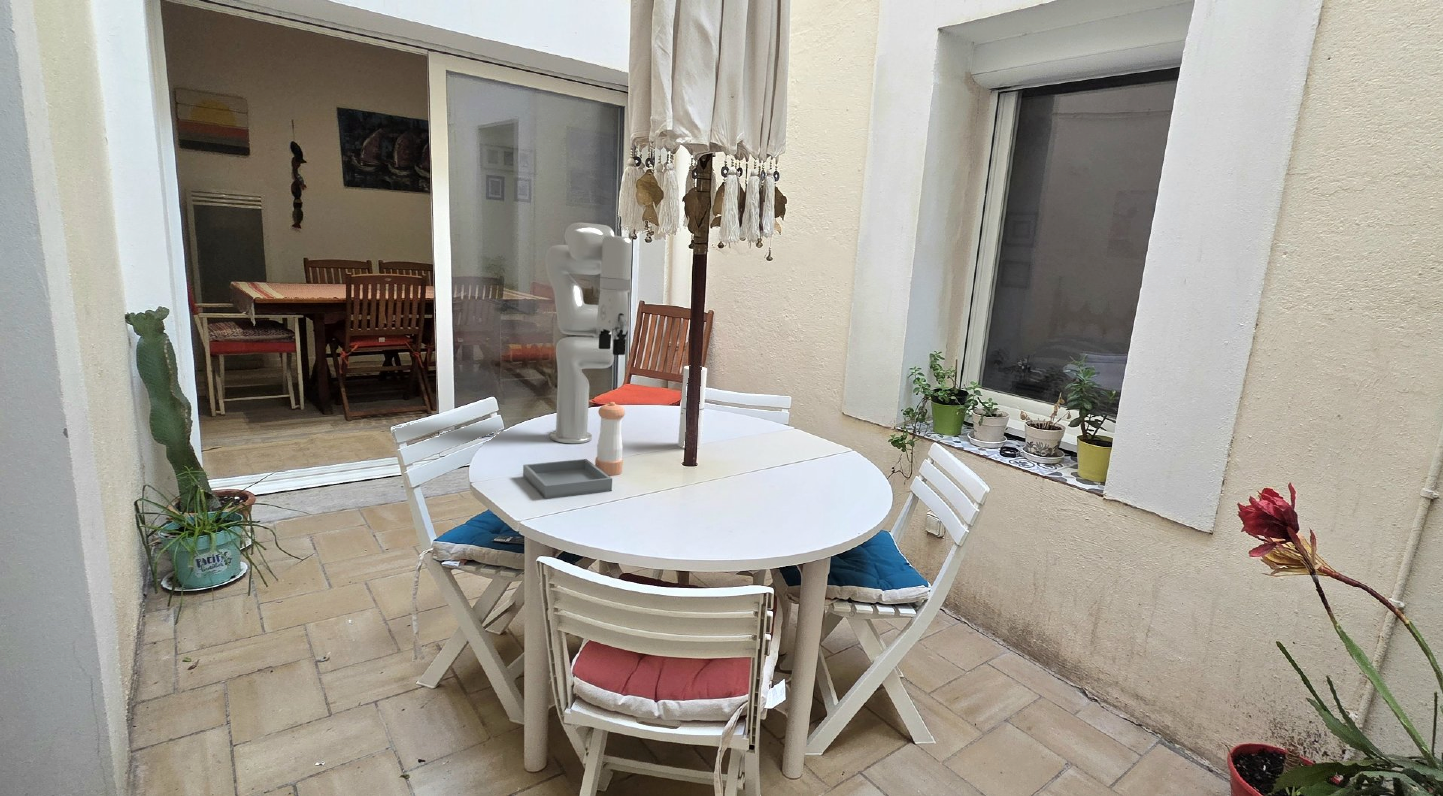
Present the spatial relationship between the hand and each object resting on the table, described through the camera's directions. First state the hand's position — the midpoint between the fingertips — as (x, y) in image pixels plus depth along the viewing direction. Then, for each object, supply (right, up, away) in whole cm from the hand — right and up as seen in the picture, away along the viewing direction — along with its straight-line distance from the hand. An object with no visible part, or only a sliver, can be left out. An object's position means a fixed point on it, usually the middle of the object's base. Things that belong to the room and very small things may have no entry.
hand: (611, 351), depth 182 cm
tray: (-10, -34, -5) cm, 36 cm away
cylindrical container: (+19, -27, +38) cm, 50 cm away
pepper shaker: (-2, -32, +7) cm, 33 cm away
